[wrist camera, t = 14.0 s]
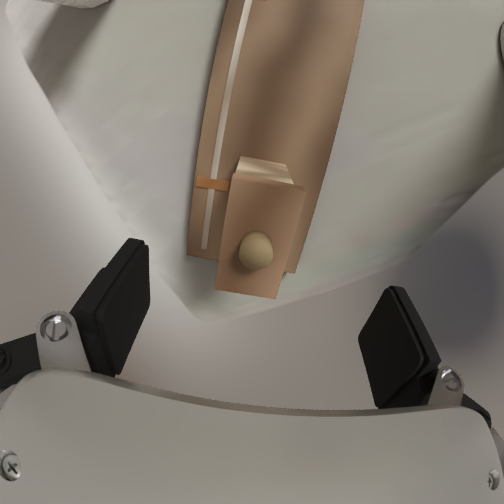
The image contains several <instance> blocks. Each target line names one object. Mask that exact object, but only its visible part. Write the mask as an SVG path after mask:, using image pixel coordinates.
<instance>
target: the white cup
mask: <svg viewBox="0 0 504 504" xmlns="http://www.w3.org/2000/svg"><path fill="white" fill-rule="evenodd" d="M37 1H43V2H49V3H56V4H61V5H70V6H73V7H77V8H94V7H96V6H99V5H101V4H103V3H106V2H107V1H109V0H37Z"/></svg>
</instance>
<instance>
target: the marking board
mask: <svg viewBox="0 0 504 504" xmlns="http://www.w3.org/2000/svg"><path fill="white" fill-rule="evenodd" d="M363 5H364V0H228V3H227V7H226V11H225V15H224V19H223V23H222V27H221V32H220V36H219V40H218V45H217V49H216V54H215V59H214V63H213V68H212V73H211V78H210V84H209V89H208V94H207V100H206V105H205V111H204V117H203V123H202V129H201V136H200V142H199V149H198V156H197V164H196V171H195V179H194V187H193V196H192V204H191V214H190V224H189V234H188V246H187V255H190V256H195V257H201V258H207V259H212V260H218V261H219V254H220V247H221V241H222V235H223V228H224V222H225V216H226V210H227V204H228V198H229V192H230V186H231V180H232V176H233V173H235V172H236V169H237V166H238V163H239V160H240V157H241V156H244V157H249V158H255V159H260V160H265V161H270V162H275V163H280V164H285V165H286V167H287V169H288V171H289V174H290V176H291V179H292V181H293V183H294V184H295V185H299V186H303V187H304V189H305V191H306V197H305V200H304V204H303V207H302V211H301V215H300V218H299V222H298V225H297V229H296V232H295V236H294V239H293V243H292V246H291V250H290V253H289V256H288V260H287V263H286V266H285V270H284V272H288V273H294V274H295V271H296V268H297V265H298V262H299V259H300V256H301V253H302V250H303V246H304V243H305V240H306V237H307V234H308V230H309V227H310V224H311V220H312V217H313V214H314V210H315V207H316V204H317V200H318V197H319V193H320V190H321V186H322V183H323V179H324V176H325V172H326V168H327V165H328V161H329V157H330V154H331V150H332V146H333V142H334V138H335V135H336V131H337V127H338V123H339V119H340V115H341V111H342V106H343V102H344V98H345V94H346V89H347V85H348V81H349V76H350V72H351V67H352V62H353V58H354V53H355V48H356V43H357V38H358V33H359V28H360V22H361V17H362V11H363Z"/></svg>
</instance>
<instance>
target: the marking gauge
mask: <svg viewBox="0 0 504 504" xmlns="http://www.w3.org/2000/svg"><path fill="white" fill-rule="evenodd" d="M305 197H306V191H305V189H304V187H303V186H299V185H295V184H294V183H293V181H292V179H291V176H290V174H289V171H288V169H287V167H286V165H285V164H280V163H275V162H270V161H265V160H260V159H255V158H249V157H244V156H241V157H240V160H239V163H238V166H237V169H236V172H235V173H233V176H232V180H231V186H230V192H229V198H228V204H227V210H226V216H225V222H224V228H223V235H222V241H221V247H220V254H219V261H218V267H217V274H216V281H215V288H214V289H216V290H222V291H228V292H234V293H240V294H246V295H252V296H259V297H265V298H272V299H276V296H277V293H278V289H279V286H280V283H281V280H282V276H283V273H284V270H285V266H286V263H287V260H288V256H289V253H290V250H291V246H292V243H293V239H294V236H295V232H296V229H297V225H298V222H299V218H300V215H301V211H302V207H303V204H304V200H305Z"/></svg>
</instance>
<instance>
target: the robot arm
mask: <svg viewBox="0 0 504 504" xmlns="http://www.w3.org/2000/svg"><path fill="white" fill-rule="evenodd" d="M500 40H501V51H502V57H503V61H504V23H503V25H502V29H501V37H500ZM149 306H150V283H149V247H148V245H145V243H144V241H143V240H138V239H133V238H129V239H128V240H127V241H126V242H125V243H124V244H123V246H122V247H121V248H120V250H119V251H118V252H117V253H116V254H115V256H114V257H113V258H112V260H111V261H110V262H109V263H108V265H107V266H106V267H105V268H102V269H101V270H100V271H99V272H98V274H97V275H96V276H95V278H94V279H93V280H92V282H91V283H90V284H89V286H88V287H87V289H86V290H85V291H84V293H83V294H82V295H81V297H80V298H79V300H78V301H77V302H76V304H75V305H74V307H73V308H72V310H71V311H70V313H67V312H64V311H53V312H50V313H47V314H46V315H44V316H43V317H42V318H41V319H40V320H39V321H38V323H37V326H36V333H34V334H31V335H28V336H25V337H22V338H19V339H15V340H13V341H10V342H6V343H3V344H0V504H504V441H503V439H502V438H501V437H500V436H499V434H498V433H497V432H496V430H495V429H494V428H492V429H491V418H490V414H489V413H488V411H486V410H485V409H484V408H483V407H481V406H480V405H479V404H477V403H476V402H475V401H473V400H472V399H471V398H469V397H468V396H467V395H465V394H464V393H463V392H464V382H463V379H462V377H461V375H460V374H459V373H458V372H457V371H456V370H455V369H454V368H452V367H449V366H443V367H441V368H440V369H438V367H437V366H438V365H439V363H440V362H441V359H440V357H439V354H438V352H437V350H436V348H435V346H434V344H433V342H432V340H431V338H430V336H429V334H428V332H427V330H426V328H425V326H424V324H423V322H422V320H421V318H420V316H419V314H418V313H417V311H416V309H415V307H414V305H413V304H412V301H411V300H410V298H409V296H408V294H407V292H406V291H405V289H404V288H402V287H397V286H390V287H388V288H387V289H385V290H384V292H383V294H382V296H381V297H380V299H379V301H378V303H377V304H376V306H375V308H374V310H373V312H372V313H371V315H370V317H369V319H368V320H367V322H366V324H365V325H364V327H363V329H362V330H361V332H360V334H359V337H358V342H359V345H360V349H361V352H362V356H363V360H364V364H365V367H366V371H367V375H368V379H369V382H370V387H371V391H372V394H373V399H374V403H375V405H376V407H378V409H371V410H305V409H287V408H274V407H263V406H254V405H246V404H238V403H230V402H223V401H217V400H211V399H205V398H200V397H194V396H189V395H184V394H179V393H175V392H171V391H165V390H161V389H157V388H153V387H149V386H145V385H141V384H137V383H133V382H129V381H125V380H122V379H118V378H114V377H115V375H116V374H117V375H119V374H120V373H121V371H122V369H123V366H124V364H125V361H126V359H127V356H128V354H129V352H130V350H131V347H132V345H133V343H134V340H135V338H136V335H137V333H138V331H139V329H140V326H141V324H142V322H143V320H144V318H145V315H146V313H147V311H148V309H149Z"/></svg>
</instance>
